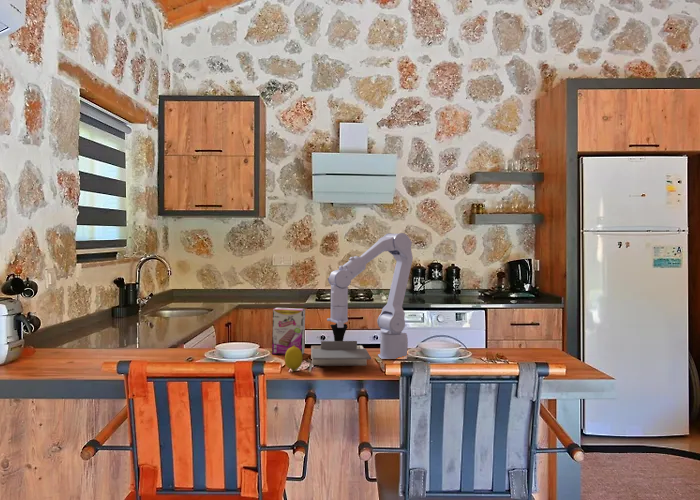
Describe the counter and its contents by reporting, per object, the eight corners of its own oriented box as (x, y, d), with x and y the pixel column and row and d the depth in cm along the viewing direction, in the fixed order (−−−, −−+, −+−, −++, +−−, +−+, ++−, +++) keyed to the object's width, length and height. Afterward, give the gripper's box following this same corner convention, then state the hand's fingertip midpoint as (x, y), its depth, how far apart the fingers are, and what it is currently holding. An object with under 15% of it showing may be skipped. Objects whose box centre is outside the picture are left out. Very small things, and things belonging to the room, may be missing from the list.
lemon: (299, 373, 174) (300, 347, 174) (282, 372, 175) (282, 346, 175) (304, 369, 179) (304, 344, 179) (287, 368, 180) (287, 343, 180)
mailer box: (361, 356, 200) (361, 345, 200) (366, 365, 186) (366, 353, 186) (311, 357, 198) (311, 345, 198) (312, 365, 184) (312, 353, 184)
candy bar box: (271, 354, 202) (272, 309, 201) (274, 352, 207) (275, 307, 206) (302, 355, 201) (303, 309, 200) (304, 353, 206) (305, 308, 205)
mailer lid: (365, 350, 190) (365, 340, 190) (371, 359, 175) (371, 349, 175) (311, 350, 188) (312, 341, 188) (313, 359, 174) (313, 349, 174)
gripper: (326, 303, 197) (325, 342, 197) (328, 308, 182) (327, 350, 183) (346, 303, 197) (345, 342, 198) (350, 308, 183) (349, 350, 183)
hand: (338, 345), depth 190 cm, fingers closed
